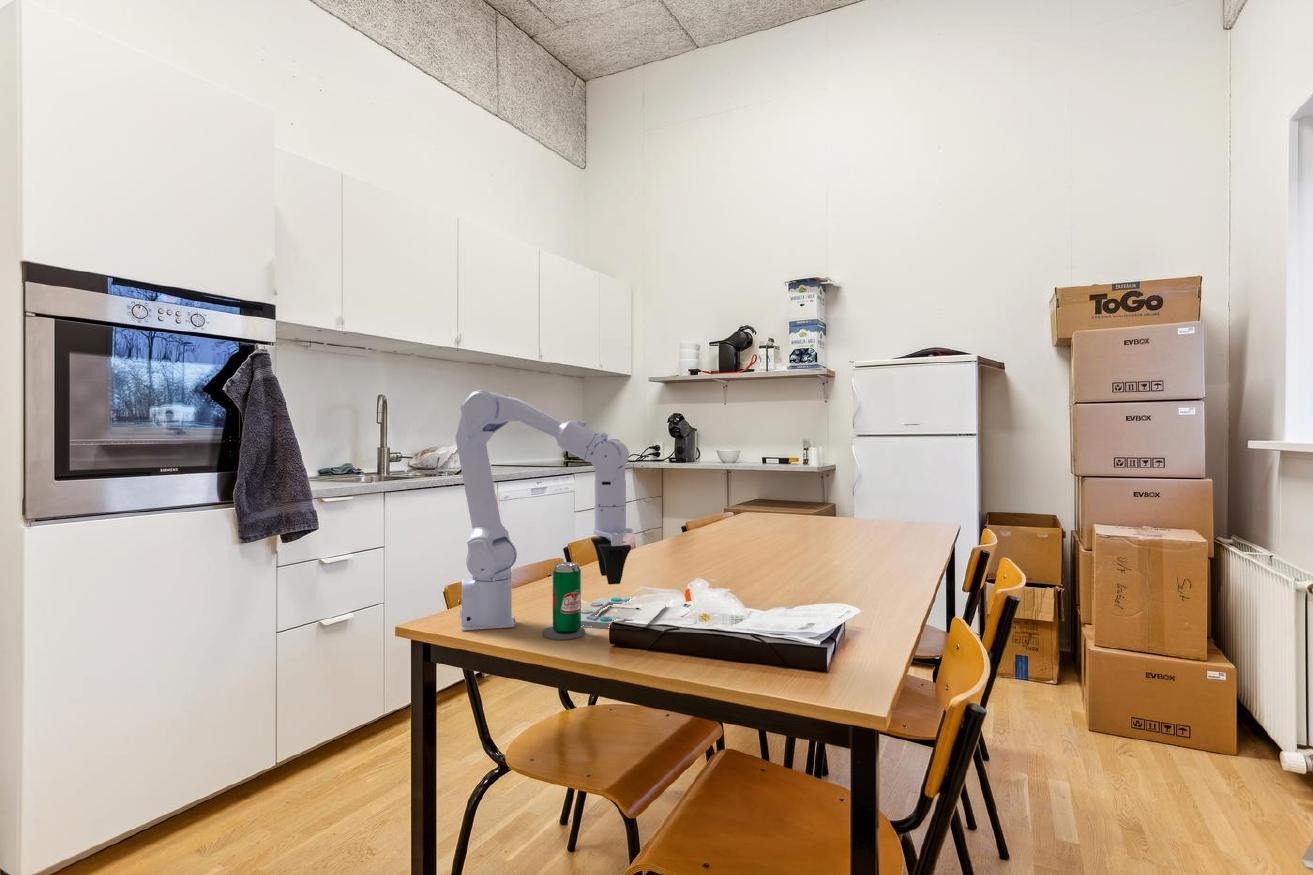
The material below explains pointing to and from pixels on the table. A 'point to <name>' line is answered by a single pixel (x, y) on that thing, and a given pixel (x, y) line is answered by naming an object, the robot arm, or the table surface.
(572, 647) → the table surface
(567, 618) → the soda can
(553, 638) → the rubber mat
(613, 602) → the electronic device
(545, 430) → the robot arm
